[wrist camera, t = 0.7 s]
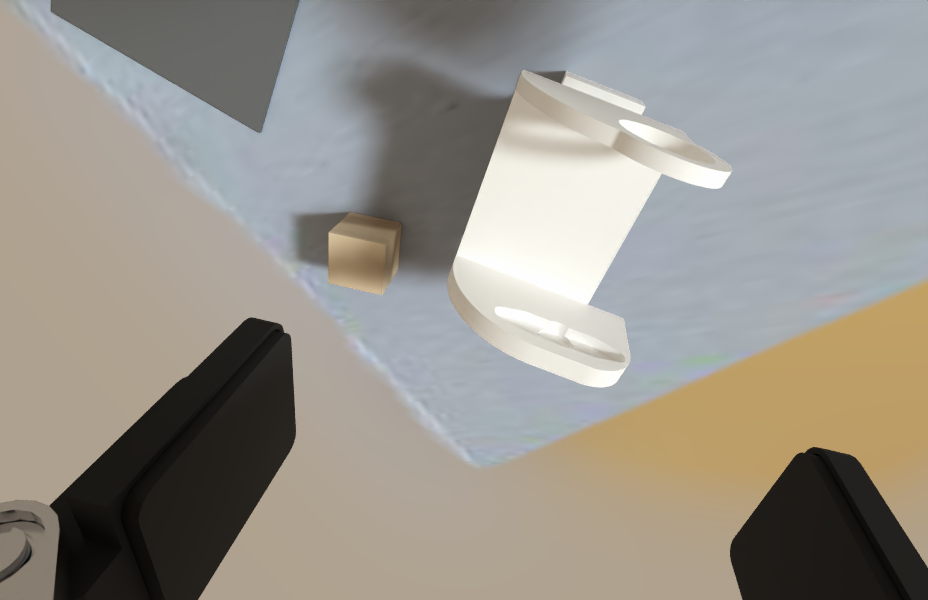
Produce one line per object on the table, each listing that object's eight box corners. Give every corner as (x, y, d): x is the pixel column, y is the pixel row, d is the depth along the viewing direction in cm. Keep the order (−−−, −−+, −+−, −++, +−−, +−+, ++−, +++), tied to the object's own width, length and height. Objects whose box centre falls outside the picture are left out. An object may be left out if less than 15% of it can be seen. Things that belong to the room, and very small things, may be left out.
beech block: (350, 211, 46) (328, 232, 42) (402, 222, 46) (385, 244, 41) (349, 258, 49) (328, 282, 44) (398, 269, 48) (381, 295, 44)
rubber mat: (60, -161, 35) (56, -162, 35) (302, -10, 37) (300, -10, 37) (54, 11, 41) (51, 11, 41) (261, 132, 43) (259, 132, 43)
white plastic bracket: (532, 55, 37) (507, 91, 21) (693, 118, 37) (782, 198, 22) (472, 221, 44) (422, 335, 29) (606, 272, 44) (625, 412, 29)
